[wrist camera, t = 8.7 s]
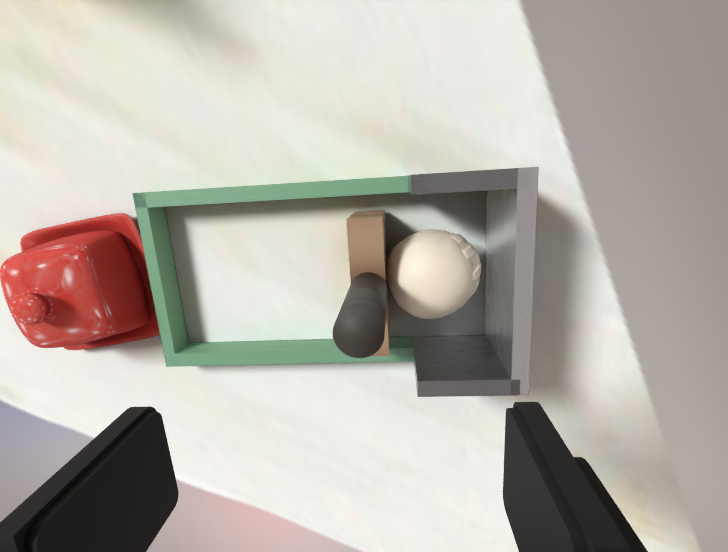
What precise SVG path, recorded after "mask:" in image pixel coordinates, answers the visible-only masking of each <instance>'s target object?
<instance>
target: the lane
mask: <svg viewBox="0 0 728 552" xmlns="http://www.w3.org/2000/svg"><path fill="white" fill-rule="evenodd" d="M403 192H408V176H399V177H383V178H367V179H352V180H336V181H320V182H304V183H288V184H272V185H256V186H240V187H224V188H208V189H192V190H176V191H160V192H145V193H133V198H134V203H135V208H136V213H137V218H138V224H139V229H140V234H141V239H142V244H143V249H144V254H145V259H146V265H147V270H148V275H149V280H150V285H151V290H152V295H153V300H154V305H155V311H156V316H157V321H158V326H159V331H160V336H161V341H162V346H163V352H164V357H165V362H166V367H167V366H213V365H258V364H304V363H350V362H395V361H414V351H413V340H412V337H390V341H389V356H369V357H366V358H353V357H350V356H348V355H346V354H344V353H343V352H341V351H340V350H339V348H338V347H337V346H336V344H335V342H334V339H313V340H277V341H240V342H203V343H189V342H188V337H187V331H186V326H185V320H184V314H183V309H182V303H181V297H180V292H179V286H178V281H177V275H176V269H175V264H174V258H173V253H172V247H171V241H170V236H169V230H168V224H167V219H166V213H165V208H164V207H167V206H184V205H201V204H217V203H234V202H251V201H268V200H285V199H302V198H319V197H336V196H353V195H369V194H386V193H403Z"/></svg>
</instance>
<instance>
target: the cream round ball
mask: <svg viewBox="0 0 728 552" xmlns="http://www.w3.org/2000/svg"><path fill="white" fill-rule="evenodd" d="M480 274H481V263H480V257H479V254H478V252H477V251H476V250H475V248H474V247H473V246H472V245H471V244H469V242H468V241H467V240H466V239H465V238H464V237H462V236H461V235H460V234H454V233H450V232H447V231H443V230H426V231H420V232H417V233H415V234H412V235H410V236H408V237H406V238H405V239H403V240H402V241H401V242H400V243H398V244H397V245H396V246H395V247H394V248H393V250H392V251H391V254H390V256H389V258H388V261H387V266H386V276H387V284H388V287H389V290H390V292H391V294H392V296H393V298H394V300H395V301H396V302H397V304H398V305H399V306H400V307H401V308H402V309H403V310H404V311H406V312H408V313H409V314H411V315H413V316H415V317H419V318H422V319H437V318H442V317H445V316H448V315H450V314H452V313H454V312H456V311H457V310H459V309H460V308H461V307H463V306H464V305H465V304H466V303H467V301H468V300H469V299H470V297H471V296H472V295H473V294H474V292H475V291H476V290H477V288H478V285H479V281H480V278H479V276H480Z"/></svg>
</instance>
